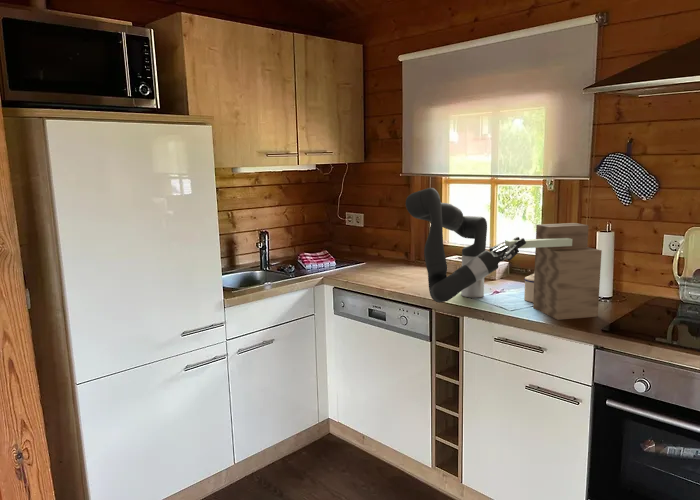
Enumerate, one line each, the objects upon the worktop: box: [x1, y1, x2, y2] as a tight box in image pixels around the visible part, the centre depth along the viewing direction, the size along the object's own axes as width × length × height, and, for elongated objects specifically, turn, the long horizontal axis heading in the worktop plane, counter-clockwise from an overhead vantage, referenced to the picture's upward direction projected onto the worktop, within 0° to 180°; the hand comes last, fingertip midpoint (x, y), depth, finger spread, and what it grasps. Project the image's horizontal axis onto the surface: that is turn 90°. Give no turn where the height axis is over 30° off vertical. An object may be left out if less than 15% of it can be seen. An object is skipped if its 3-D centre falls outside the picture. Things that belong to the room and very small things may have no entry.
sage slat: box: [504, 238, 572, 249], centre depth 185 cm, size 3×24×2 cm, turn 101°
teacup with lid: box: [523, 271, 535, 303], centre depth 214 cm, size 12×9×12 cm
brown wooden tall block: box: [532, 222, 603, 320], centre depth 194 cm, size 16×16×32 cm
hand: (521, 239), depth 184 cm, fingers closed on sage slat, 3 cm apart
